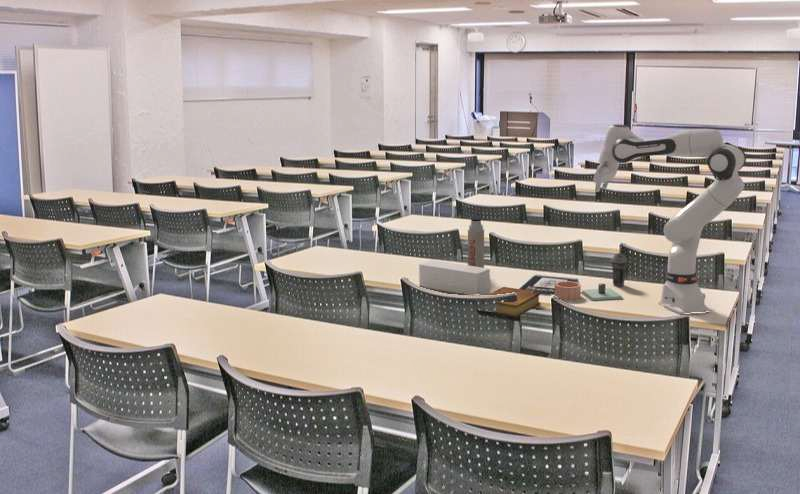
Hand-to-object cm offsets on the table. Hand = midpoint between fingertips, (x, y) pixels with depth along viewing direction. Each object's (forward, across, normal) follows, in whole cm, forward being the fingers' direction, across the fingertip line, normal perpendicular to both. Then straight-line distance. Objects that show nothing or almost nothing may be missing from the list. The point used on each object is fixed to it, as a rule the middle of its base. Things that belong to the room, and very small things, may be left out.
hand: (600, 189), depth 363 cm
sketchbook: (+51, -5, +9) cm, 52 cm away
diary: (+50, -44, +11) cm, 68 cm away
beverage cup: (+43, +10, -18) cm, 48 cm away
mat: (+43, -11, -17) cm, 47 cm away
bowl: (+46, -19, -5) cm, 50 cm away
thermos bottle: (+61, -1, +48) cm, 77 cm away
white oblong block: (+60, -29, +45) cm, 80 cm away
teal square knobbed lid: (+42, -11, -17) cm, 47 cm away
